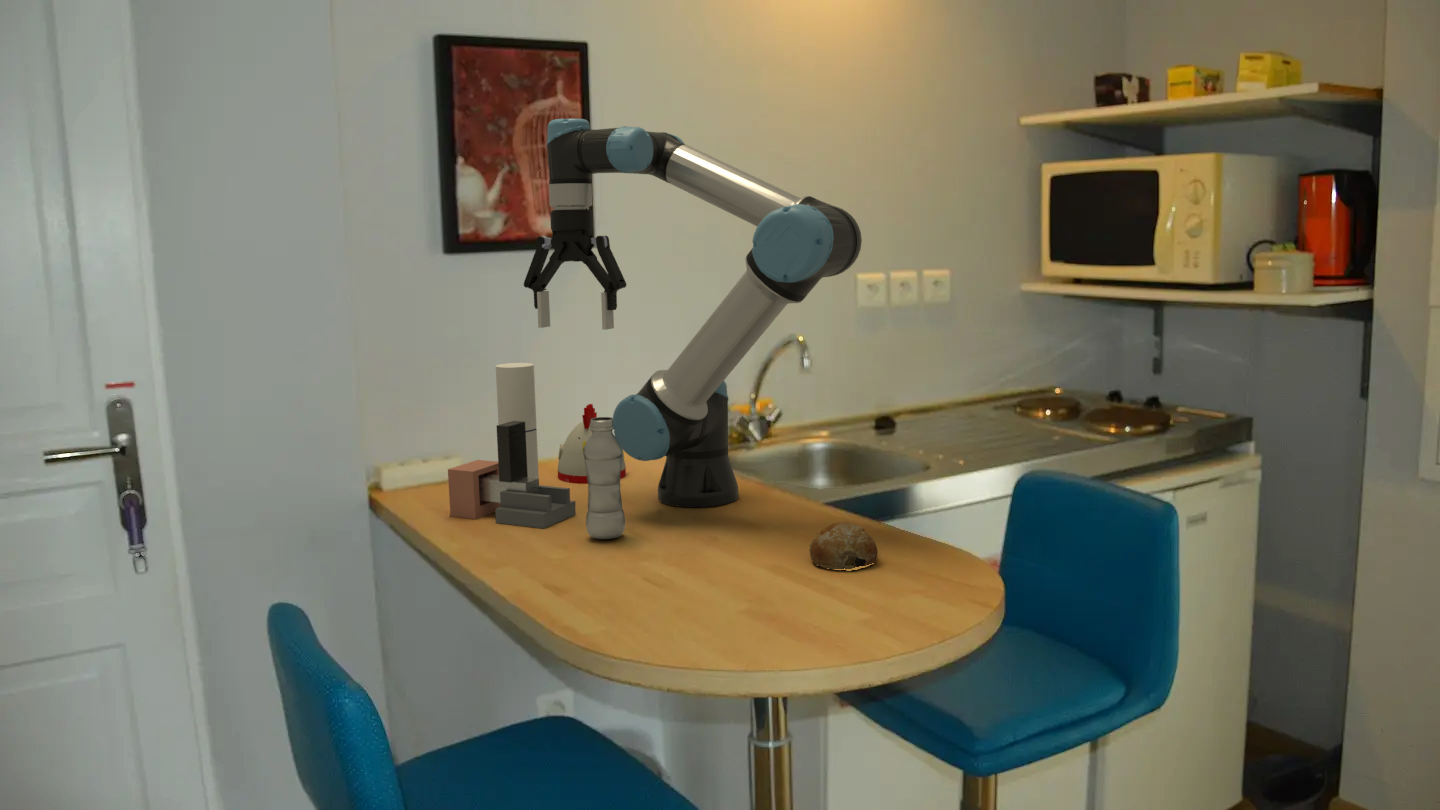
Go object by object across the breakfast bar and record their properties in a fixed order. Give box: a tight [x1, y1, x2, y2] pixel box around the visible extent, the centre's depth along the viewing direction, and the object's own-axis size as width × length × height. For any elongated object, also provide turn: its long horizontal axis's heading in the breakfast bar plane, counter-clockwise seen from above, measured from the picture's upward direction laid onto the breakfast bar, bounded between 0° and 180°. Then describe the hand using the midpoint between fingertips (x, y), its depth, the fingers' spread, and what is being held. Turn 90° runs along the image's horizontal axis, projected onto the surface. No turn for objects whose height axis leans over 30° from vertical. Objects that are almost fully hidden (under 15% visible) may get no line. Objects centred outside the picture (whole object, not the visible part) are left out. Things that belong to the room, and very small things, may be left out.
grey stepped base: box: [494, 484, 576, 529], centre depth 198 cm, size 10×10×5 cm
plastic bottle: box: [583, 416, 627, 540], centre depth 184 cm, size 6×7×20 cm
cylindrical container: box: [495, 362, 540, 480], centre depth 216 cm, size 7×7×25 cm
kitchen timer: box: [557, 403, 627, 485], centre depth 231 cm, size 14×14×15 cm
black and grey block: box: [478, 421, 540, 503], centre depth 200 cm, size 13×5×14 cm, turn 65°
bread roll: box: [808, 521, 878, 569], centre depth 170 cm, size 10×10×8 cm
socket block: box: [447, 459, 501, 520], centre depth 203 cm, size 6×9×9 cm, turn 154°
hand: (575, 328), depth 203 cm, fingers open, 13 cm apart
